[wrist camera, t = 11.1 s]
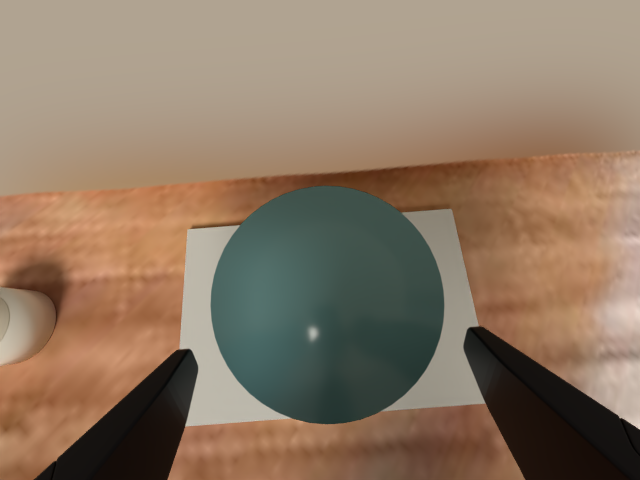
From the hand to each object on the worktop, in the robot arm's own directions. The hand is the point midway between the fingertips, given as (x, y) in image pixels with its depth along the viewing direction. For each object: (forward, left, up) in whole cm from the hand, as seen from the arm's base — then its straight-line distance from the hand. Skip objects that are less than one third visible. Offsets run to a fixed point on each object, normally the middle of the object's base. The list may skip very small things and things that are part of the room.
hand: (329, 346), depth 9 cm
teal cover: (+1, -1, -10) cm, 10 cm away
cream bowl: (+12, +18, -10) cm, 24 cm away
